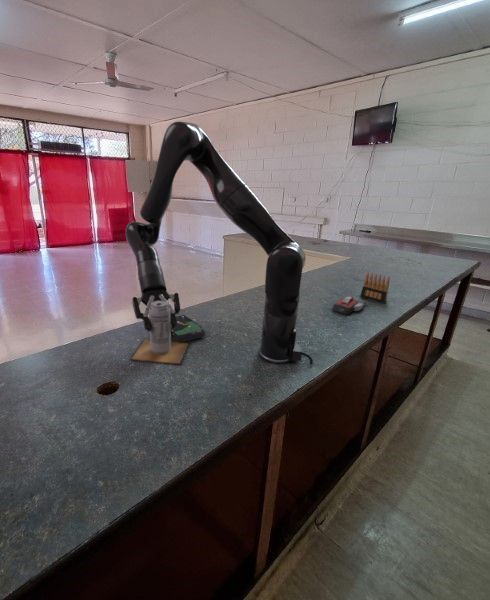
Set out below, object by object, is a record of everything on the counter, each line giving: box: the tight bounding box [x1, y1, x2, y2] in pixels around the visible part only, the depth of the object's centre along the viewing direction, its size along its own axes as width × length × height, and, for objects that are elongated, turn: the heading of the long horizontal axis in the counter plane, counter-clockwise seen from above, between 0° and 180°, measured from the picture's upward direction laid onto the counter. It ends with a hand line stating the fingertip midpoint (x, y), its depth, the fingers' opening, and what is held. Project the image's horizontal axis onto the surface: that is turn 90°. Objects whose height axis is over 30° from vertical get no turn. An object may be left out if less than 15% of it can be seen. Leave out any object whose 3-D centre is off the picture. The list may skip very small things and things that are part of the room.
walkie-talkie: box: [332, 295, 369, 315], centre depth 132 cm, size 9×4×20 cm
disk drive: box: [170, 314, 206, 343], centre depth 107 cm, size 10×3×15 cm
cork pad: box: [131, 338, 189, 365], centre depth 94 cm, size 14×12×1 cm
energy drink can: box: [148, 301, 172, 354], centre depth 92 cm, size 6×6×15 cm
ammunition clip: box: [359, 271, 391, 304], centre depth 141 cm, size 11×2×12 cm, turn 42°
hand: (161, 328), depth 90 cm, fingers open, 6 cm apart
